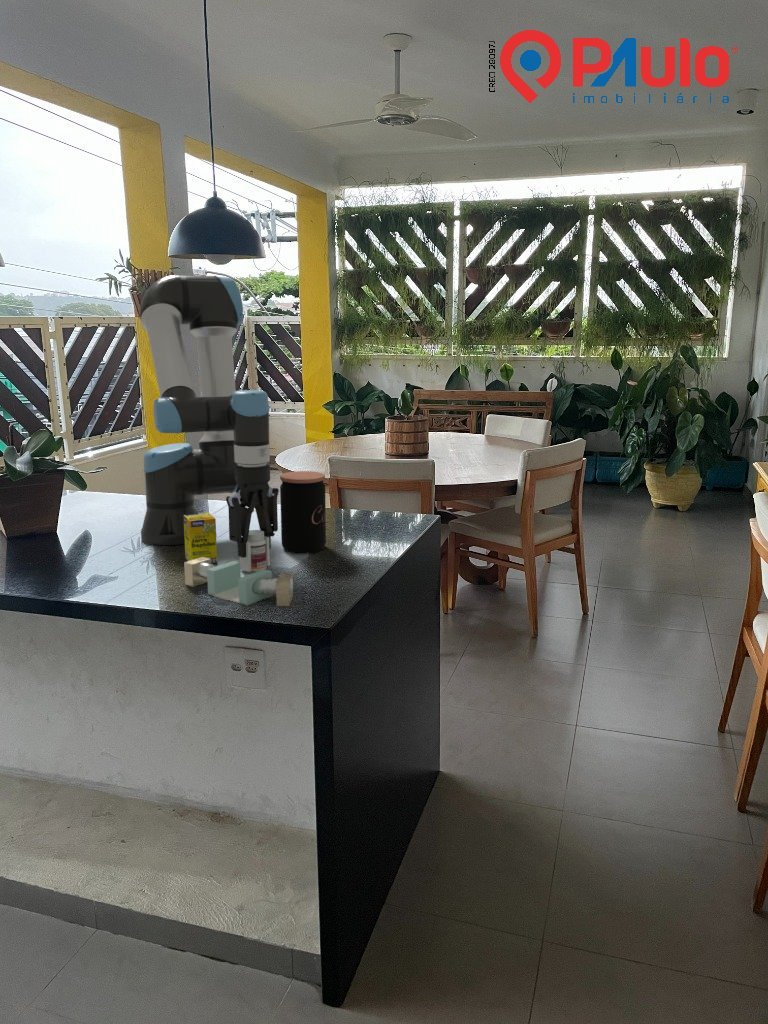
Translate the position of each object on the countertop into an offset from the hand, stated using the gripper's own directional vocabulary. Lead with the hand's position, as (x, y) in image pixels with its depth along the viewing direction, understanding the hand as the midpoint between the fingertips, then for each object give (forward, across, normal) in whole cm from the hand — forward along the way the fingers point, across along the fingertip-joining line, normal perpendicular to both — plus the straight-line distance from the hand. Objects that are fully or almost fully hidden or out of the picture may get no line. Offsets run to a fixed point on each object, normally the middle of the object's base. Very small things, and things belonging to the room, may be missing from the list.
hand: (255, 567), depth 169 cm
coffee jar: (+1, +18, +2) cm, 19 cm away
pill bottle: (+1, 0, 0) cm, 1 cm away
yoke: (0, -14, -10) cm, 17 cm away
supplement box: (+1, -5, +12) cm, 13 cm away
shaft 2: (0, -12, -18) cm, 22 cm away
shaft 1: (0, -14, 0) cm, 14 cm away
